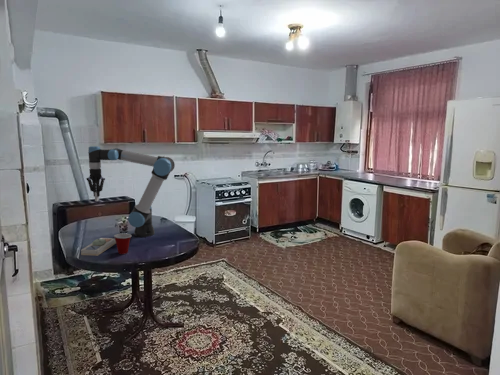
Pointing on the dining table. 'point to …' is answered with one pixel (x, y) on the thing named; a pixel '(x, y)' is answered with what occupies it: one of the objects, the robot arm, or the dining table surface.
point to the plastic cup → (122, 242)
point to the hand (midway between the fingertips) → (96, 200)
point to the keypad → (100, 249)
